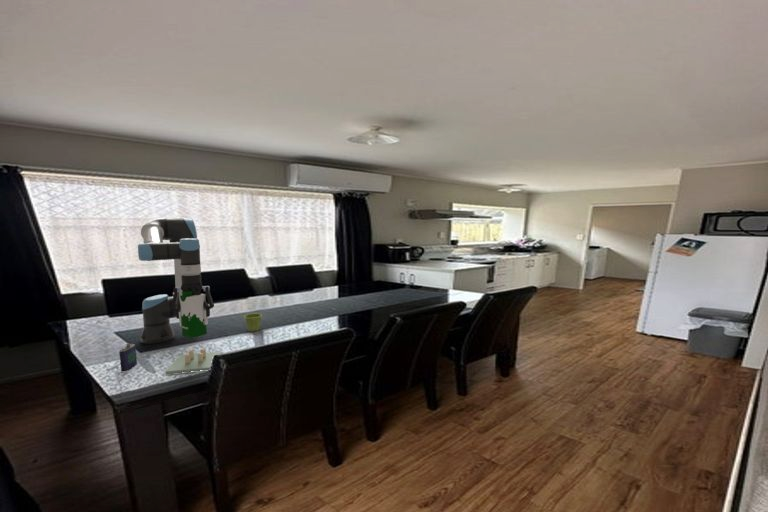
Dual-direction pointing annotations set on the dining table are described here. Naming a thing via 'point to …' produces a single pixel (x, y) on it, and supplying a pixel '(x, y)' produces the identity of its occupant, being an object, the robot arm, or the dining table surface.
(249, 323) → the plant pot
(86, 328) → the dining table surface
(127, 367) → the flask
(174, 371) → the peg stand
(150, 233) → the robot arm
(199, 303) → the soya milk
